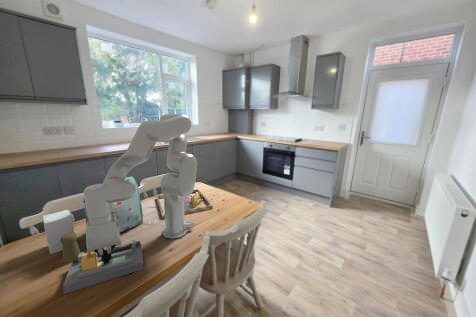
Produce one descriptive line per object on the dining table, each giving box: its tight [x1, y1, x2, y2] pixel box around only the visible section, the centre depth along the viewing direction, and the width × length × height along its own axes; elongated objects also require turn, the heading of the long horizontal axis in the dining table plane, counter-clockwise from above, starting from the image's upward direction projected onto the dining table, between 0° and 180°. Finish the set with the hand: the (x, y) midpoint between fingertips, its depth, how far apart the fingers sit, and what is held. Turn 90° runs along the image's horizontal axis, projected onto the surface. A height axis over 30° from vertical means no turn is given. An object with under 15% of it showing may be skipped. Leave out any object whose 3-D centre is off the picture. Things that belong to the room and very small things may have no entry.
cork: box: [60, 231, 82, 264], centre depth 79 cm, size 6×6×11 cm
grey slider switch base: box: [61, 239, 144, 295], centre depth 75 cm, size 24×13×5 cm, turn 118°
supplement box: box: [42, 209, 75, 255], centre depth 86 cm, size 9×9×15 cm
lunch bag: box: [82, 175, 144, 233], centre depth 99 cm, size 23×16×27 cm
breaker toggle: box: [81, 252, 98, 272], centre depth 70 cm, size 4×4×6 cm
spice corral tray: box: [155, 188, 214, 220], centre depth 131 cm, size 31×32×3 cm
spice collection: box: [183, 193, 203, 210], centre depth 132 cm, size 25×24×9 cm
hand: (107, 261), depth 73 cm, fingers closed
